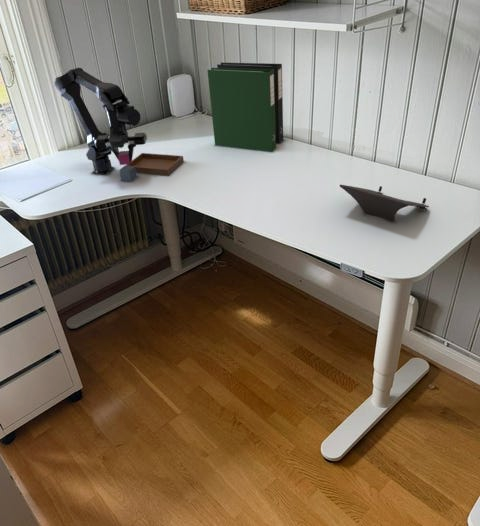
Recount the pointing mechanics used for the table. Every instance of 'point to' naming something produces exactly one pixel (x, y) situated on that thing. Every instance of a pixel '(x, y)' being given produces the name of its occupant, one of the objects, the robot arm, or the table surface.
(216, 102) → the binder
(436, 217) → the table surface
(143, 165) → the tray
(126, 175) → the slate block
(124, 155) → the mulberry block
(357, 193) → the laptop tray
